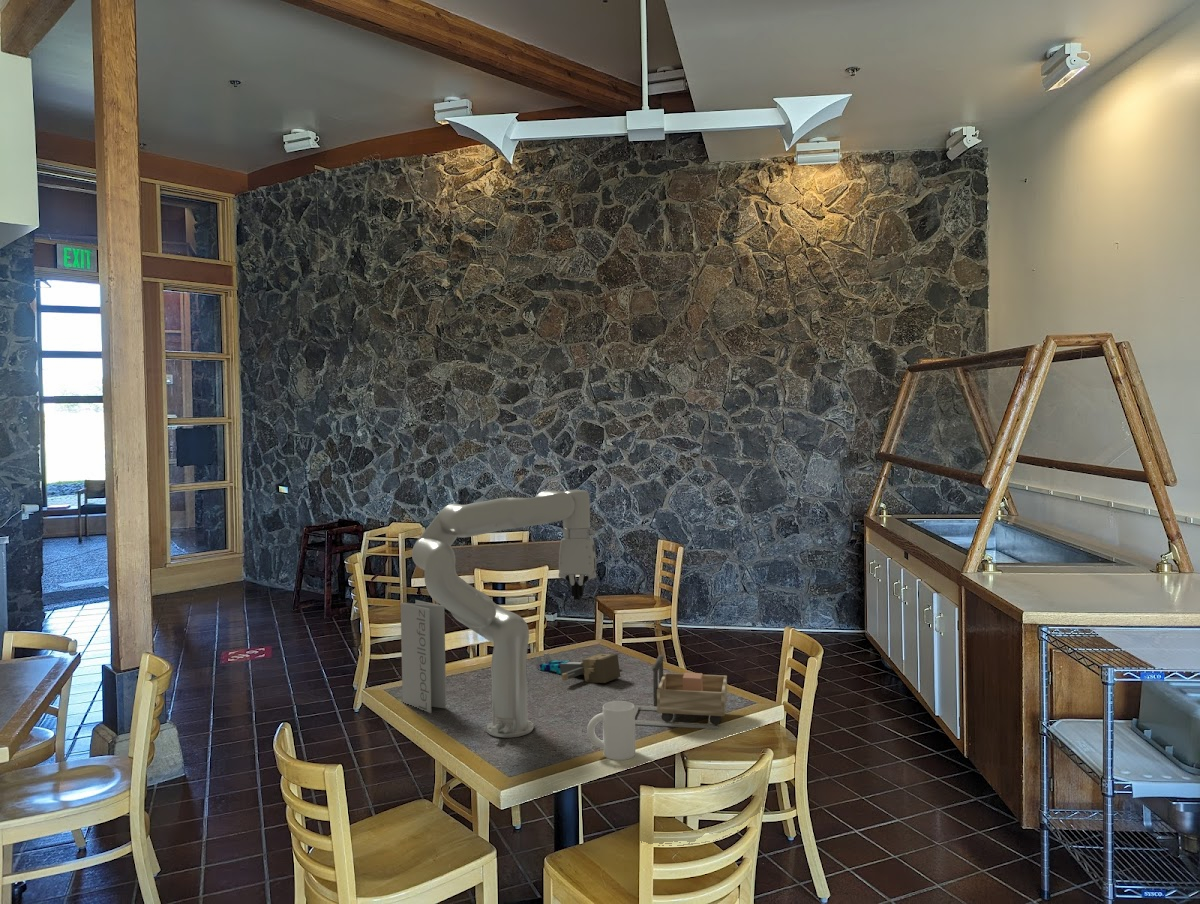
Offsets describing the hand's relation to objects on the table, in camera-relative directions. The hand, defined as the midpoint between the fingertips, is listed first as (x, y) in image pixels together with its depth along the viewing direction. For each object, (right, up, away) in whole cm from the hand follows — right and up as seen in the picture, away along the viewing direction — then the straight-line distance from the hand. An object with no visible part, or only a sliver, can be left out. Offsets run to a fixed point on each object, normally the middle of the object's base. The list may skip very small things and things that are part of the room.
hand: (577, 598), depth 230 cm
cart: (+31, -32, -4) cm, 45 cm away
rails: (+26, -33, -3) cm, 42 cm away
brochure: (-46, -34, +11) cm, 58 cm away
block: (+32, -28, -4) cm, 42 cm away
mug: (+9, -34, -28) cm, 45 cm away
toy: (-2, -33, +41) cm, 52 cm away
